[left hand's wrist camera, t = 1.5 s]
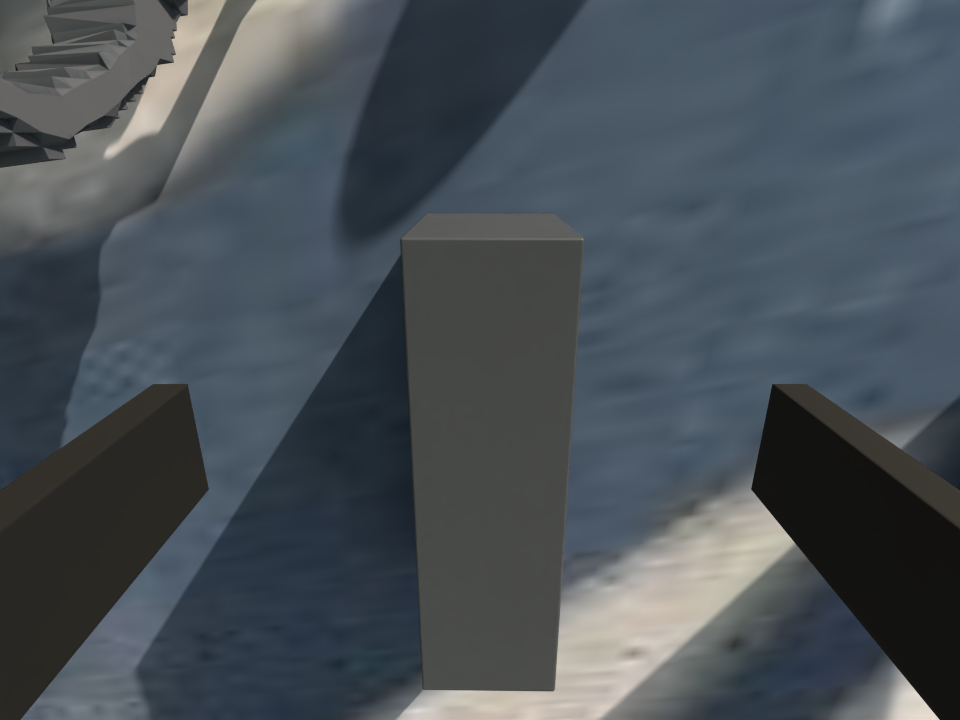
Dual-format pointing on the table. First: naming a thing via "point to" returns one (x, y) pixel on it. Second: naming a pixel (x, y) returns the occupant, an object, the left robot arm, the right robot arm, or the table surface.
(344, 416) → the table surface
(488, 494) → the box
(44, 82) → the toy
